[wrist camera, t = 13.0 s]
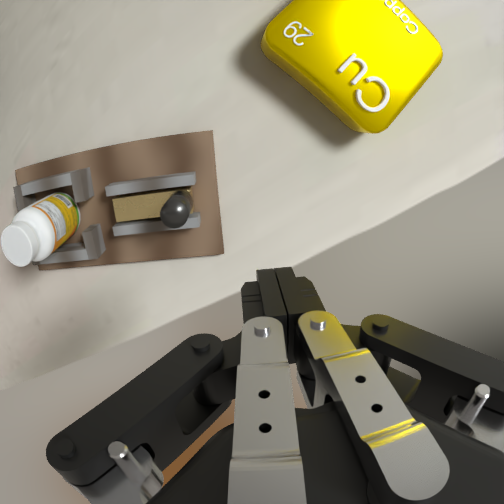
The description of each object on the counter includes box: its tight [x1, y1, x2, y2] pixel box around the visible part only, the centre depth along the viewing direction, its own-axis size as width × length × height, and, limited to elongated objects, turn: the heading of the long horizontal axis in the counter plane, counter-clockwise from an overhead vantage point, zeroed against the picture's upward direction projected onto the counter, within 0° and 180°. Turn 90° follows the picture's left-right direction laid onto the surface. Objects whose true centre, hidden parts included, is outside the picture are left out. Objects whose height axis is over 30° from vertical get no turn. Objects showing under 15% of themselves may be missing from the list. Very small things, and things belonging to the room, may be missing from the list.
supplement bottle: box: [1, 192, 80, 267], centre depth 26 cm, size 5×5×10 cm
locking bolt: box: [112, 186, 194, 229], centre depth 28 cm, size 8×2×6 cm, turn 94°
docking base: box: [13, 130, 224, 270], centre depth 30 cm, size 24×13×3 cm, turn 94°
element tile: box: [261, 0, 443, 133], centre depth 24 cm, size 15×15×5 cm
